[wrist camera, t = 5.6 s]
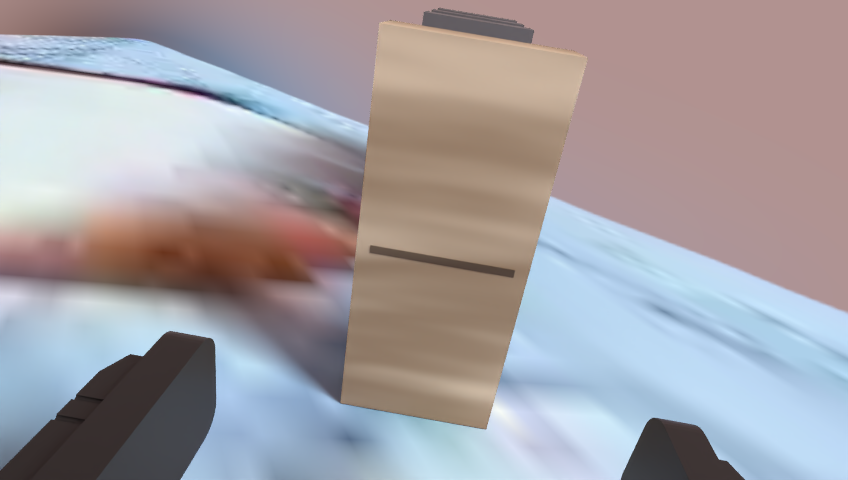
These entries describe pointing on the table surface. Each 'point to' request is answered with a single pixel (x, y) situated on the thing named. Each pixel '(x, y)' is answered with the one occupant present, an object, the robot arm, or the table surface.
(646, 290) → the table surface
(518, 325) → the table surface
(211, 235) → the table surface
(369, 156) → the maple domino
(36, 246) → the table surface
